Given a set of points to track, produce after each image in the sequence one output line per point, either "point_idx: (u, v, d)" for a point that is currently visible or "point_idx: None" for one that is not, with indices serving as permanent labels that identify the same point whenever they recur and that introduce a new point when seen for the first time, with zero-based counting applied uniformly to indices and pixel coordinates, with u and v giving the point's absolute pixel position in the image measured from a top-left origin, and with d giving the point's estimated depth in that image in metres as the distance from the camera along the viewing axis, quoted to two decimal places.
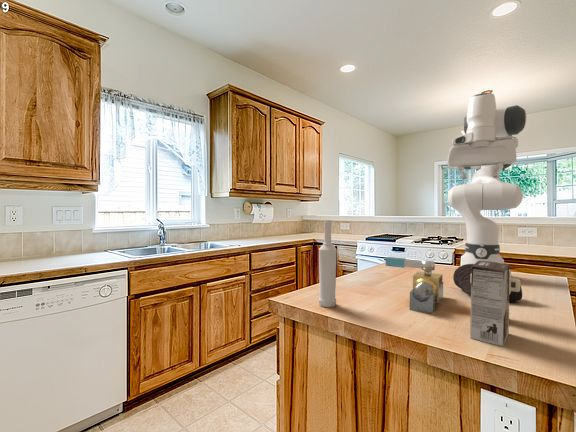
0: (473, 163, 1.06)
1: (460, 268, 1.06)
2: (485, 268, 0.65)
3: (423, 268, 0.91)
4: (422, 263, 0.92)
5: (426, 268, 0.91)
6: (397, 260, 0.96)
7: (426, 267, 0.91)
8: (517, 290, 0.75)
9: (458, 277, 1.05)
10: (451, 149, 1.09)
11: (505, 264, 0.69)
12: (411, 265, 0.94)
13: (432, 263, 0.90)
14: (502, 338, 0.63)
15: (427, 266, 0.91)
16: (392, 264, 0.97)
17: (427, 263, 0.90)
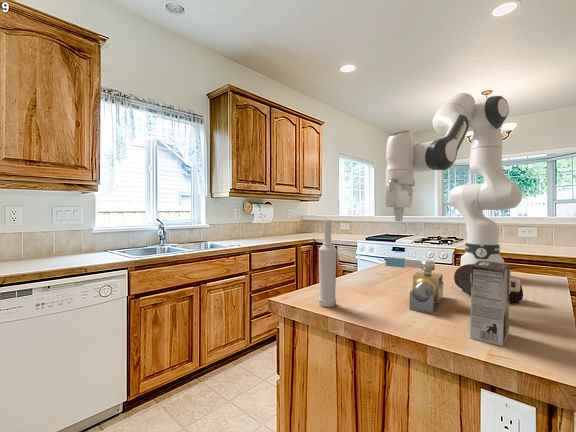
0: None
1: (461, 268, 1.06)
2: (485, 268, 0.65)
3: (423, 268, 0.91)
4: (422, 263, 0.92)
5: (426, 268, 0.91)
6: (397, 260, 0.96)
7: (426, 267, 0.91)
8: (517, 290, 0.75)
9: (458, 277, 1.05)
10: None
11: (505, 264, 0.69)
12: (411, 265, 0.94)
13: (432, 263, 0.90)
14: (502, 338, 0.63)
15: (427, 266, 0.91)
16: (392, 264, 0.97)
17: (427, 263, 0.90)
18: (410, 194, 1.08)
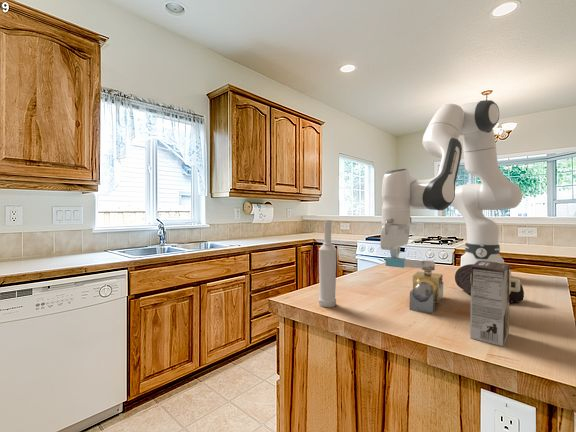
0: None
1: (462, 268, 1.05)
2: (485, 268, 0.65)
3: (423, 268, 0.91)
4: (422, 263, 0.92)
5: (426, 268, 0.91)
6: (397, 260, 0.96)
7: (426, 267, 0.91)
8: (517, 290, 0.75)
9: (459, 278, 1.05)
10: None
11: (505, 264, 0.69)
12: (411, 265, 0.94)
13: (432, 263, 0.90)
14: (502, 338, 0.63)
15: (427, 266, 0.91)
16: (392, 264, 0.97)
17: (427, 263, 0.90)
18: (407, 231, 1.05)
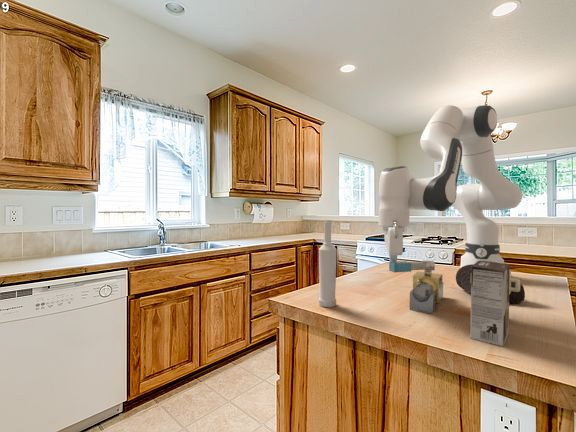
0: None
1: (462, 268, 1.05)
2: (485, 268, 0.65)
3: (428, 269, 0.90)
4: (427, 264, 0.90)
5: (431, 268, 0.90)
6: (405, 264, 0.89)
7: (431, 267, 0.90)
8: (517, 290, 0.75)
9: (460, 278, 1.04)
10: None
11: (505, 264, 0.69)
12: (417, 267, 0.90)
13: (434, 262, 0.91)
14: (502, 338, 0.63)
15: (432, 266, 0.90)
16: (400, 269, 0.88)
17: (432, 263, 0.90)
18: None
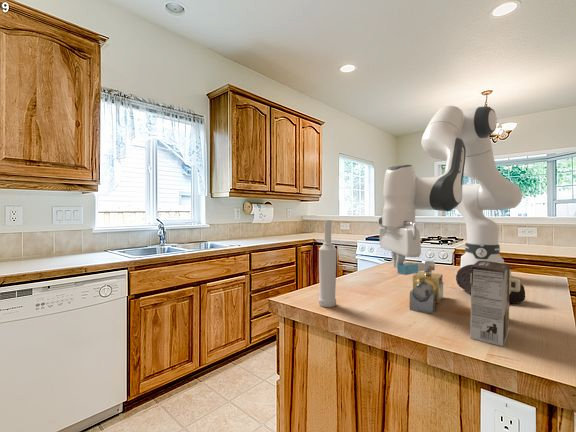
0: (390, 249, 0.91)
1: (463, 268, 1.05)
2: (485, 268, 0.65)
3: (430, 269, 0.90)
4: (429, 264, 0.90)
5: (433, 268, 0.90)
6: (413, 266, 0.86)
7: (433, 267, 0.91)
8: (517, 290, 0.75)
9: (460, 278, 1.04)
10: (379, 229, 0.97)
11: (505, 264, 0.69)
12: (421, 268, 0.89)
13: None
14: (502, 338, 0.63)
15: (433, 266, 0.91)
16: (410, 271, 0.86)
17: (433, 263, 0.91)
18: None
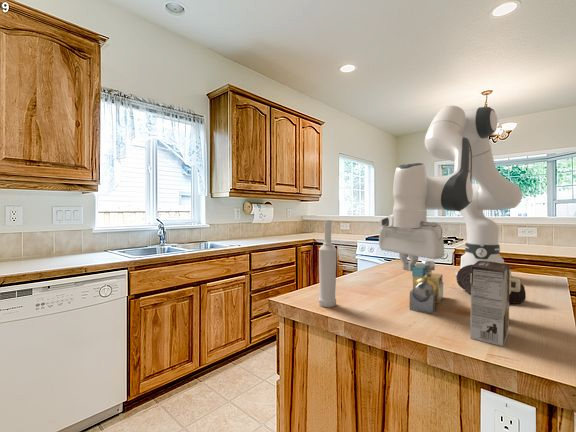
0: (399, 252, 0.87)
1: (463, 269, 1.05)
2: (485, 268, 0.65)
3: (432, 269, 0.90)
4: (431, 264, 0.90)
5: (434, 268, 0.91)
6: (425, 267, 0.84)
7: (434, 267, 0.91)
8: (517, 290, 0.75)
9: (461, 278, 1.04)
10: (380, 230, 0.92)
11: (505, 264, 0.69)
12: (428, 269, 0.88)
13: None
14: (502, 338, 0.63)
15: (434, 266, 0.91)
16: (424, 273, 0.83)
17: (434, 263, 0.91)
18: None
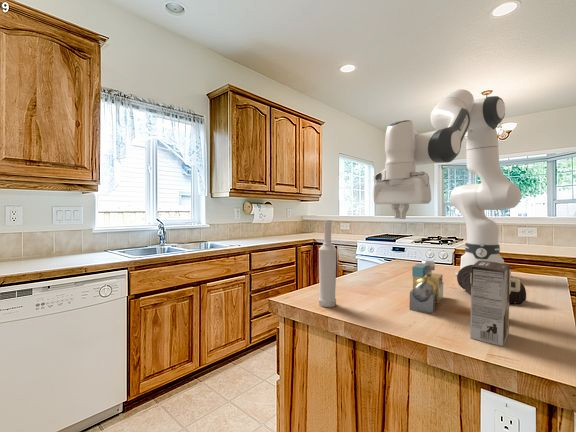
0: (391, 202, 0.95)
1: (464, 269, 1.05)
2: (485, 268, 0.65)
3: (432, 269, 0.90)
4: (431, 264, 0.90)
5: (434, 268, 0.91)
6: (425, 267, 0.84)
7: (434, 267, 0.91)
8: (517, 290, 0.75)
9: (461, 278, 1.04)
10: (374, 186, 1.01)
11: (505, 264, 0.69)
12: (428, 269, 0.88)
13: None
14: (502, 338, 0.63)
15: (434, 266, 0.91)
16: (424, 273, 0.83)
17: (434, 263, 0.91)
18: None
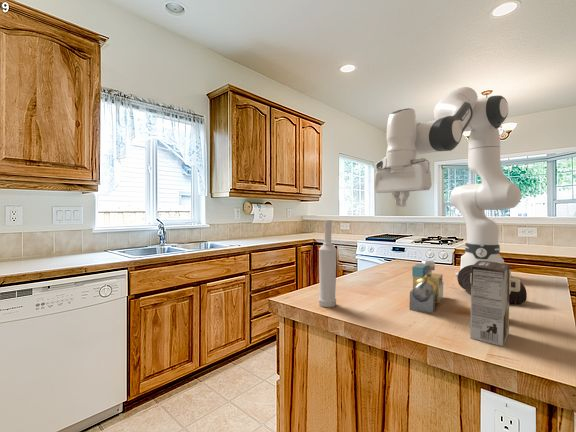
0: (392, 190, 0.96)
1: (464, 269, 1.05)
2: (485, 268, 0.65)
3: (432, 269, 0.90)
4: (431, 264, 0.90)
5: (434, 268, 0.91)
6: (425, 267, 0.84)
7: (434, 267, 0.91)
8: (517, 290, 0.75)
9: (461, 278, 1.04)
10: (375, 174, 1.02)
11: (505, 264, 0.69)
12: (428, 269, 0.88)
13: None
14: (502, 338, 0.63)
15: (434, 266, 0.91)
16: (424, 273, 0.83)
17: (434, 263, 0.91)
18: None
